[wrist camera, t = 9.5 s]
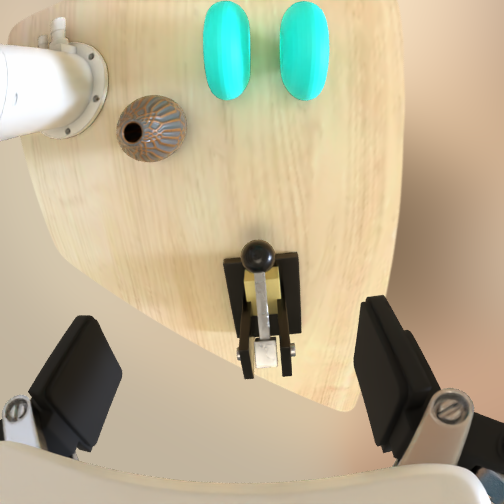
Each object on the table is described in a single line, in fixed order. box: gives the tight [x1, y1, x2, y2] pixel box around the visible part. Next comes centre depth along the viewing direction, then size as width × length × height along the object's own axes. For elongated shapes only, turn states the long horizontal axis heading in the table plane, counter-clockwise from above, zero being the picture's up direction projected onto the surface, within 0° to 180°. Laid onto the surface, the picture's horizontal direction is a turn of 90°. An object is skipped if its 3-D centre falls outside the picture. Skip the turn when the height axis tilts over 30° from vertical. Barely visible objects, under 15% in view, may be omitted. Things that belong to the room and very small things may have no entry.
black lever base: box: [223, 252, 301, 379], centre depth 35 cm, size 12×9×12 cm
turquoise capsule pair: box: [203, 1, 329, 100], centre depth 23 cm, size 10×10×10 cm
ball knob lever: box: [241, 240, 278, 368], centre depth 31 cm, size 13×4×4 cm
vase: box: [117, 95, 187, 162], centre depth 27 cm, size 7×7×9 cm
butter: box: [244, 267, 281, 316], centre depth 37 cm, size 5×4×3 cm
